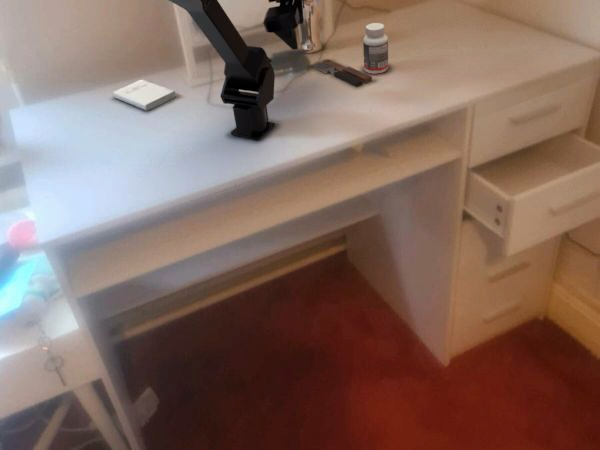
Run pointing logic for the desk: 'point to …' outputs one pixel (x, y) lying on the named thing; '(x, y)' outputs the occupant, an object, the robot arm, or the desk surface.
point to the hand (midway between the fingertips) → (298, 35)
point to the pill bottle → (375, 49)
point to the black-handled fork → (337, 74)
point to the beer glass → (310, 27)
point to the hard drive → (144, 94)
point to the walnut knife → (349, 71)
